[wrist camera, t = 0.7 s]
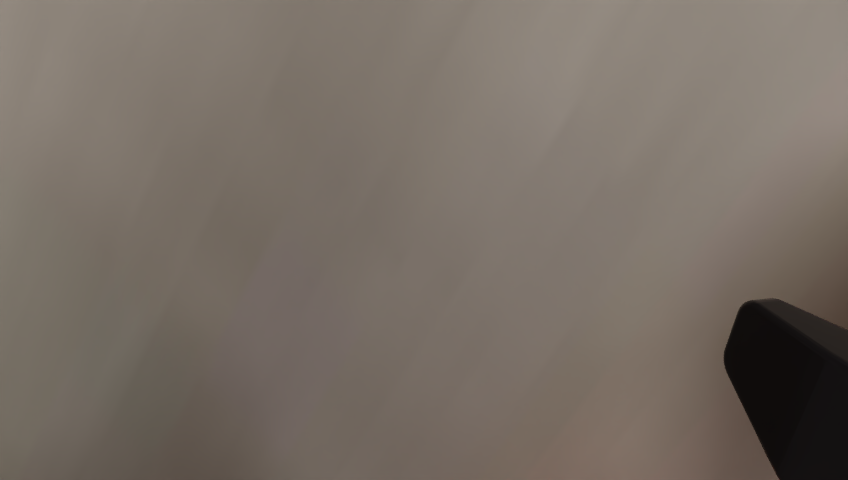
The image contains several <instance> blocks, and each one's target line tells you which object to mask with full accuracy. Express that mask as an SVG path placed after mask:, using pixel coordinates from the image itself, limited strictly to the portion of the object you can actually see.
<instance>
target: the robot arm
mask: <svg viewBox="0 0 848 480" xmlns="http://www.w3.org/2000/svg"><path fill="white" fill-rule="evenodd" d="M724 365H725V369H726V372H727V374H728V376H729V378H730V380H731V382H732V384H733V386H734V389H735V391H736V393H737V395H738V397H739V399H740V401H741V403H742V405H743V407H744V409H745V411H746V413H747V415H748V418H749V420H750V422H751V424H752V426H753V428H754V430H755V432H756V434H757V436H758V438H759V440H760V442H761V444H762V447H763V449H764V451H765V453H766V455H767V457H768V459H769V461H770V463H771V465H772V467H773V469H774V471H775V472H776V474H777V476H778V478H779V480H848V330H846V329H844V328H842V327H840V326H837V325H835V324H833V323H831V322H829V321H826V320H824V319H822V318H820V317H817V316H815V315H813V314H811V313H808V312H806V311H804V310H802V309H799V308H797V307H795V306H793V305H791V304H788V303H786V302H784V301H782V300H779V299H773V298H772V299H760V300H750V301H747V302H745V303H744V304H743V305H742V306H741V307H740V309H739V311H738V313H737V316H736V319H735V322H734V325H733V327H732V330H731V333H730V336H729V339H728V342H727V344H726V347H725V351H724Z"/></svg>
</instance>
